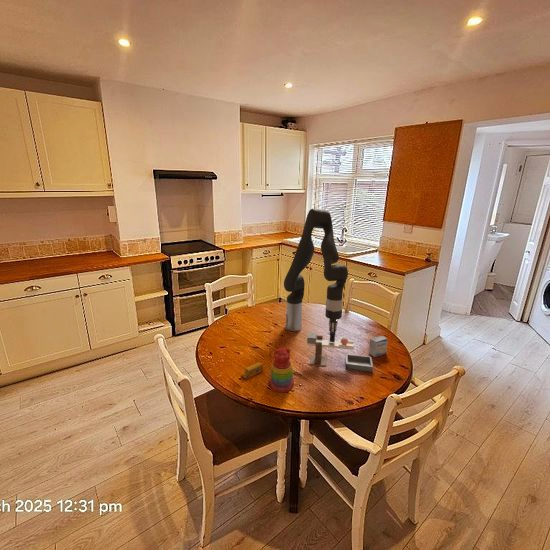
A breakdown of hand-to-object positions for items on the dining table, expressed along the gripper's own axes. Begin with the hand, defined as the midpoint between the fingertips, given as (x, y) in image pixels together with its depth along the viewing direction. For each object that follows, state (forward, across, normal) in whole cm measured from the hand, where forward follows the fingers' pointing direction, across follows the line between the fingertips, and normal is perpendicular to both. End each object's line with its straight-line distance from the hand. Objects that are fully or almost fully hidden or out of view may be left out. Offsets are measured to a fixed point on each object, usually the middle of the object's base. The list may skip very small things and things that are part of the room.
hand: (332, 341), depth 142 cm
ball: (-1, 0, +6) cm, 6 cm away
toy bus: (+12, +16, -35) cm, 40 cm away
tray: (+12, 0, +13) cm, 17 cm away
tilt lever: (+2, 0, -1) cm, 2 cm away
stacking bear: (+12, +22, -20) cm, 32 cm away
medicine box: (+12, -13, +23) cm, 29 cm away
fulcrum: (+12, 0, -6) cm, 13 cm away
